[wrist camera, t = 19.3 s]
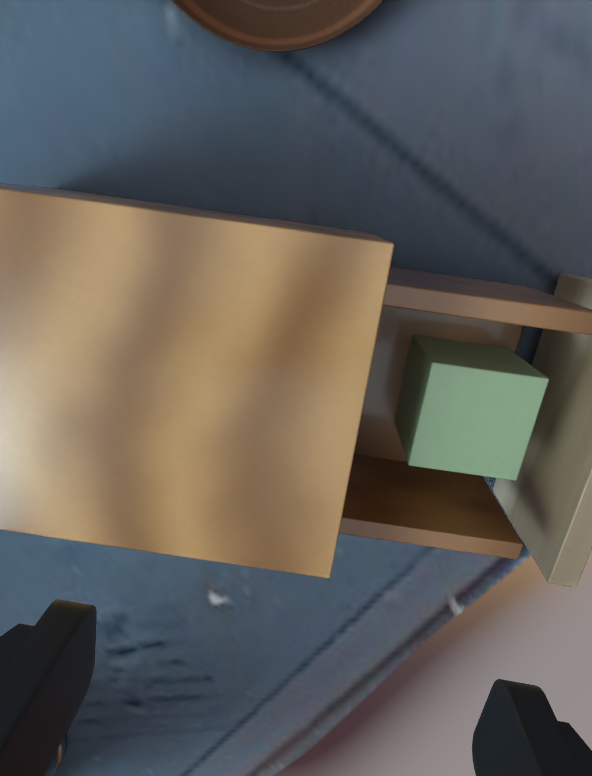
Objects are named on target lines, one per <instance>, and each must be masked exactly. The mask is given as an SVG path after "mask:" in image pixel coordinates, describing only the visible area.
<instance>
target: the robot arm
mask: <svg viewBox="0 0 592 776" xmlns="http://www.w3.org/2000/svg"><path fill="white" fill-rule="evenodd" d="M95 642H96V607H95V606H93V605H87V604H81V603H76V602H70V601H64V600H58V599H57V600H55V601H54V602H53V603H52V604H51V605H50V606H49V607H48V609H47V610H46V611H45V613H44V614H43V615H42V617H41V618H40V620H39V621H38V622H37V624H36V625H35V626H30V625H24V624H18V625H16V626H15V627H13V628H12V629H11V630H9V631H8V632H6V633H5V634H4V635H2V636H1V637H0V776H52V775H53V774H54V772H55V771H56V769H57V767H58V765H59V763H60V761H61V759H62V757H63V755H64V753H65V749H66V738H65V734H66V732H67V730H68V728H69V727H70V725H71V723H72V721H73V719H74V717H75V715H76V713H77V711H78V709H79V707H80V705H81V703H82V701H83V699H84V697H85V695H86V692H87V690H88V687H89V684H90V681H91V678H92V674H93V670H94V664H95ZM472 753H473V763H474V769H475V773H476V776H592V751H591V750H590V748H589V747H588V746H587V745H586V743H585V742H584V741H583V740H582V739H581V737H580V736H579V735H578V734H577V732H575V730H574V729H573V728H572V727H571V725H570V724H569V723H566V722H560V721H557V719H556V717H555V715H554V713H553V710H552V709H551V706H550V704H549V702H548V700H547V698H546V696H545V694H544V692H543V691H542V690H541V688H540V687H538V686H535V685H529V684H524V683H518V682H512V681H507V680H501V679H498V680H496V681H495V682H494V684H493V686H492V688H491V691H490V694H489V696H488V699H487V701H486V703H485V706H484V709H483V711H482V714H481V716H480V719H479V721H478V724H477V726H476V729H475V731H474V735H473V744H472Z"/></svg>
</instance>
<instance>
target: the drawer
mask: <svg viewBox="0 0 592 776" xmlns="http://www.w3.org/2000/svg"><path fill="white" fill-rule="evenodd" d="M524 326H529V327H536V328H543V330H542V334H541V337H540V340H539V343H538V347H537V350H536V353H535V356H534V359H533V363H532V366H533V367H534V368H535V369H537V370H538V371H539V372H541V373H542V374H543V375H545V376H546V377H547V378H549V381H548V384H547V387H546V390H545V394H544V397H543V400H542V403H541V406H540V409H539V412H538V415H537V418H536V421H535V424H534V427H533V431H532V434H531V437H530V440H529V443H528V446H527V449H526V452H525V455H524V458H523V461H522V464H521V468H520V471H519V474H518V477H517V480H508V479H501V478H496V481H495V485H494V488H493V492H494V494H495V495H496V497H497V499H498V500H499V502H500V504H501V505H502V507H503V509H504V510H505V512H506V514H507V515H508V517H509V519H510V520H511V522H512V524H513V525H514V527H515V529H516V530H517V532H518V534H519V535H520V537H521V539H522V540H523V542H524V544H525V545H526V547H527V549H528V550H529V552H530V554H531V555H532V557H533V558H534V560H535V562H536V563H537V565H538V567H539V568H540V570H541V572H542V574H543V575H544V577H545V579H546V580H547V582H548V583H551V584H558V585H564V586H570V587H576V586H577V584H578V582H579V579H580V577H581V574H582V572H583V569H584V567H585V565H586V562H587V560H588V557H589V555H590V552H591V550H592V278H588V277H583V276H576V275H569V274H560V276H559V279H558V282H557V286H556V289H555V292H554V295H550V294H547V293H545V292H542V291H539V290H536V289H533V288H531V287H528V286H521V285H514V284H507V283H500V282H493V281H486V280H479V279H472V278H464V277H457V276H450V275H443V274H436V273H429V272H422V271H415V270H408V269H401V268H393V267H390V270H389V275H388V280H387V286H386V291H385V296H384V301H383V306H382V312H381V317H380V322H379V327H378V332H377V337H376V343H375V348H374V353H373V358H372V363H371V368H370V374H369V379H368V384H367V389H366V394H365V400H364V405H363V410H362V415H361V420H360V425H359V431H358V436H357V441H356V446H355V451H354V457H353V462H352V467H351V472H350V477H349V482H348V488H347V493H346V498H345V503H344V508H343V514H342V519H341V524H340V529H339V533H340V534H347V535H354V536H361V537H367V538H374V539H381V540H388V541H395V542H401V543H408V544H415V545H422V546H429V547H435V548H442V549H449V550H456V551H463V552H469V553H476V554H483V555H490V556H497V557H503V558H510V559H518V558H519V555H520V552H521V549H522V547H523V543H522V542H521V540H520V538H519V536H518V535H517V533H516V531H515V530H514V528H513V526H512V525H511V523H510V521H509V520H508V518H507V516H506V515H505V513H504V511H503V510H502V508H501V506H500V505H499V503H498V501H497V499H496V498H495V496H494V494H493V493H492V491H491V489H490V488H489V486H488V484H487V483H486V481H485V479H484V478H483V476H480V475H473V474H466V473H459V472H452V471H445V470H438V469H431V468H424V467H417V466H410V465H408V462H407V459H406V456H405V453H404V450H403V447H402V444H401V441H400V438H399V435H398V432H397V429H396V426H395V422H394V420H395V415H396V411H397V406H398V401H399V397H400V392H401V388H402V383H403V378H404V374H405V369H406V364H407V360H408V355H409V350H410V346H411V341H412V337H413V335H417V336H424V337H432V338H439V339H446V340H453V341H460V342H468V343H475V344H482V345H489V346H496V347H503V348H508V349H510V350H511V351H512V352H514V353H515V354H516V350H517V347H518V344H519V340H520V337H521V334H522V330H523V327H524Z"/></svg>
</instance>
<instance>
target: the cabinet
mask: <svg viewBox="0 0 592 776" xmlns="http://www.w3.org/2000/svg"><path fill="white" fill-rule="evenodd" d="M393 249H394V244H393V243H392V242H389V241H387V240H385V239H382V238H380V237H378V236H376V235H373V234H371V233H369V232H363V231H355V230H348V229H341V228H334V227H327V226H320V225H313V224H305V223H298V222H291V221H284V220H277V219H270V218H263V217H256V216H248V215H241V214H234V213H227V212H220V211H213V210H206V209H198V208H191V207H184V206H177V205H170V204H163V203H156V202H149V201H141V200H134V199H127V198H120V197H113V196H106V195H99V194H92V193H84V192H77V191H70V190H63V189H56V188H45V187H35V186H25V185H14V184H3V183H0V530H6V531H13V532H20V533H27V534H33V535H40V536H47V537H54V538H60V539H67V540H74V541H81V542H87V543H94V544H101V545H108V546H114V547H121V548H128V549H135V550H141V551H148V552H155V553H162V554H168V555H175V556H182V557H189V558H195V559H202V560H209V561H216V562H222V563H229V564H236V565H243V566H249V567H256V568H263V569H270V570H276V571H283V572H290V573H297V574H303V575H310V576H317V577H324V578H330V576H331V571H332V565H333V560H334V555H335V550H336V545H337V539H338V534H339V529H340V524H341V519H342V514H343V508H344V503H345V498H346V493H347V488H348V482H349V477H350V472H351V467H352V462H353V457H354V451H355V446H356V441H357V436H358V431H359V425H360V420H361V415H362V410H363V405H364V400H365V394H366V389H367V384H368V379H369V374H370V368H371V363H372V358H373V353H374V348H375V343H376V337H377V332H378V327H379V322H380V317H381V312H382V306H383V301H384V296H385V291H386V286H387V280H388V275H389V270H390V265H391V260H392V255H393Z"/></svg>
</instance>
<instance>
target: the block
mask: <svg viewBox="0 0 592 776" xmlns="http://www.w3.org/2000/svg"><path fill="white" fill-rule="evenodd" d="M548 381H549V378H547V377H546V376H545V375H543V374H542V373H541V372H539V371H538V370H537V369H535V368H534V367H533V366H531V365H530V364H529V363H527V362H526V361H524V360H523V359H522V358H520V357H519V356H518V355H516V354H515V353H514V352H512V351H511V350H510V349H508V348H503V347H496V346H489V345H482V344H475V343H468V342H460V341H453V340H446V339H439V338H432V337H424V336H417V335H413V337H412V341H411V346H410V350H409V355H408V360H407V364H406V369H405V374H404V378H403V383H402V388H401V392H400V397H399V401H398V406H397V411H396V415H395V420H394V422H395V426H396V429H397V432H398V435H399V438H400V441H401V444H402V447H403V450H404V453H405V456H406V459H407V462H408V465H410V466H417V467H424V468H431V469H438V470H445V471H452V472H459V473H466V474H473V475H480V476H487V477H494V478H501V479H508V480H517V477H518V474H519V471H520V468H521V464H522V461H523V458H524V455H525V452H526V449H527V446H528V443H529V440H530V437H531V434H532V431H533V427H534V424H535V421H536V418H537V415H538V412H539V409H540V406H541V403H542V400H543V397H544V394H545V390H546V387H547V384H548Z"/></svg>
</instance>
